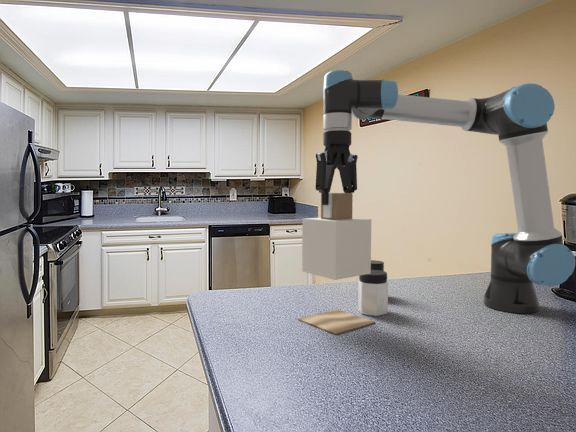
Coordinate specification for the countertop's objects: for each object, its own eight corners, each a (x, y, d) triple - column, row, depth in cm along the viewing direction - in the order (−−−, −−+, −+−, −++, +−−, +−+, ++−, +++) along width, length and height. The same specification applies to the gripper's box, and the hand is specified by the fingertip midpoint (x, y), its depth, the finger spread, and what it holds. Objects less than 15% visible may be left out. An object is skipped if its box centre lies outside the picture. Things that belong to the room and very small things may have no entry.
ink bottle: (393, 297, 139) (393, 262, 138) (374, 302, 134) (374, 265, 134) (371, 292, 147) (372, 258, 146) (353, 295, 142) (354, 261, 142)
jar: (371, 318, 118) (372, 276, 117) (352, 311, 124) (352, 271, 124) (393, 312, 123) (394, 272, 122) (373, 306, 129) (374, 268, 129)
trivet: (375, 323, 113) (375, 321, 113) (335, 335, 104) (335, 333, 104) (336, 310, 125) (336, 309, 125) (298, 320, 116) (298, 318, 116)
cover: (370, 273, 112) (371, 193, 111) (335, 279, 104) (336, 193, 103) (336, 266, 123) (337, 192, 121) (302, 271, 115) (302, 193, 113)
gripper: (351, 135, 120) (351, 214, 121) (301, 129, 108) (300, 217, 110) (371, 132, 114) (370, 216, 115) (320, 126, 102) (319, 219, 104)
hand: (336, 216), depth 112 cm, fingers closed on cover, 6 cm apart
